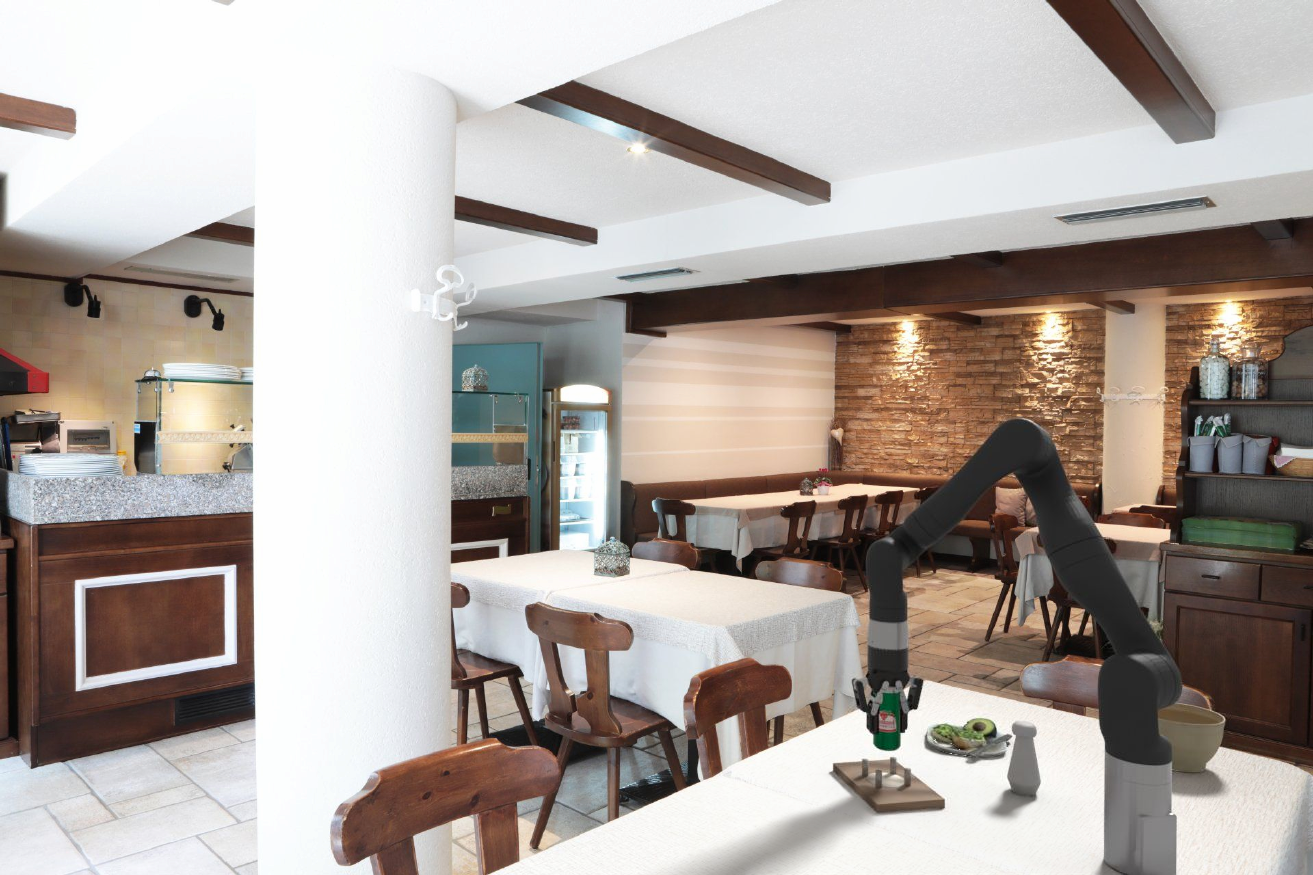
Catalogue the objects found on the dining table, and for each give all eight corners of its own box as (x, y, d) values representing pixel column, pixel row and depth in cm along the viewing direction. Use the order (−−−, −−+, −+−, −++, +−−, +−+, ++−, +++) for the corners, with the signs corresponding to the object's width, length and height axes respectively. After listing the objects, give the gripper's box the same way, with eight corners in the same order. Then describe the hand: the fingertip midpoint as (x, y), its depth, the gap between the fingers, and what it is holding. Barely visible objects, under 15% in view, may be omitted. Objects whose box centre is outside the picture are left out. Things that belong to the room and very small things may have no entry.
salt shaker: (1043, 799, 161) (1044, 728, 161) (1010, 796, 162) (1011, 726, 162) (1036, 786, 166) (1036, 718, 167) (1004, 784, 168) (1005, 716, 168)
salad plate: (1014, 769, 176) (1015, 746, 176) (922, 757, 183) (923, 735, 183) (1011, 739, 195) (1012, 718, 195) (928, 728, 201) (928, 708, 201)
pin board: (944, 807, 157) (945, 782, 157) (877, 812, 154) (877, 787, 154) (893, 766, 176) (893, 744, 176) (832, 770, 174) (833, 747, 174)
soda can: (870, 749, 164) (870, 685, 164) (876, 740, 169) (877, 678, 169) (897, 753, 162) (897, 689, 162) (903, 745, 166) (903, 682, 166)
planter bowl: (1243, 773, 174) (1244, 719, 174) (1186, 784, 168) (1187, 728, 168) (1170, 746, 189) (1170, 696, 189) (1115, 756, 183) (1115, 704, 183)
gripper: (860, 649, 160) (860, 741, 160) (932, 646, 163) (931, 737, 163) (844, 639, 168) (843, 728, 168) (913, 637, 170) (912, 724, 170)
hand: (887, 732), depth 165 cm, fingers closed on soda can, 5 cm apart
